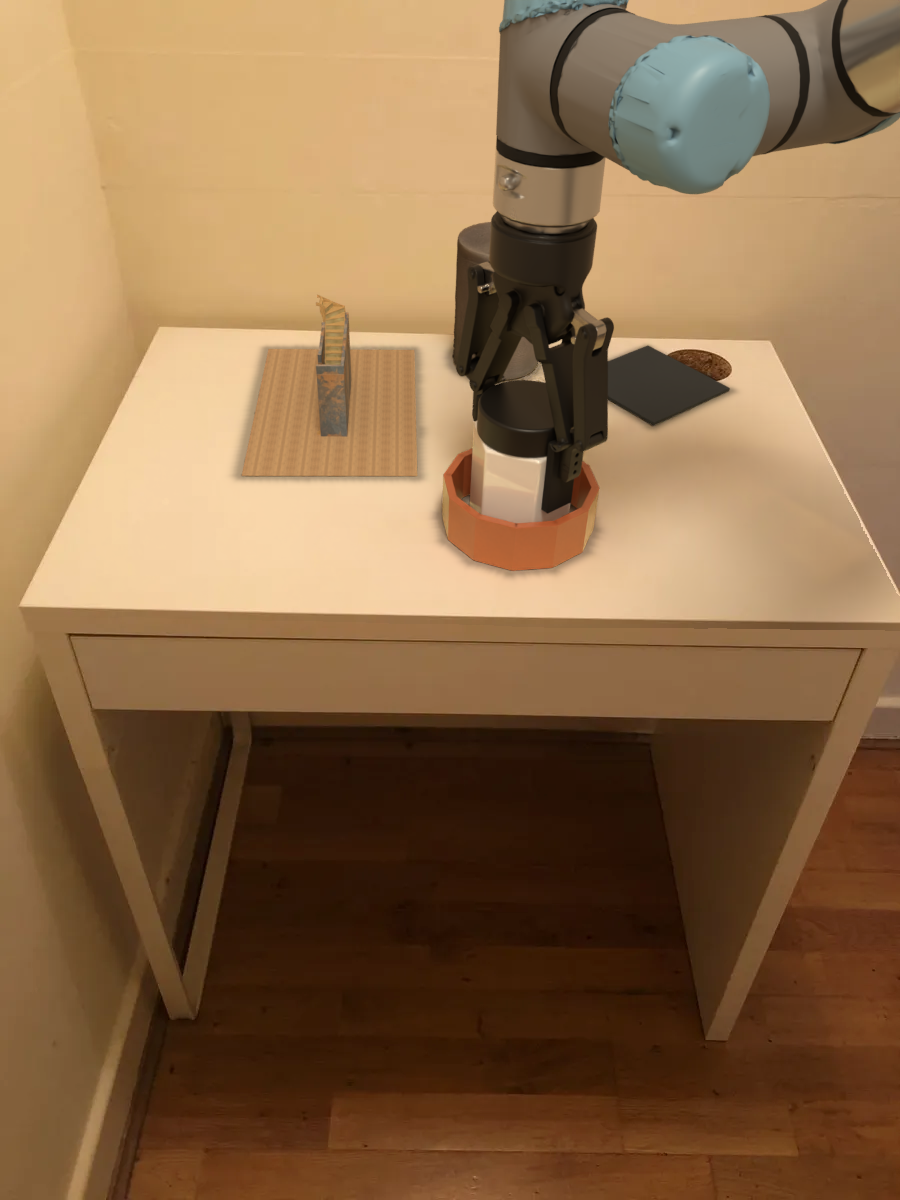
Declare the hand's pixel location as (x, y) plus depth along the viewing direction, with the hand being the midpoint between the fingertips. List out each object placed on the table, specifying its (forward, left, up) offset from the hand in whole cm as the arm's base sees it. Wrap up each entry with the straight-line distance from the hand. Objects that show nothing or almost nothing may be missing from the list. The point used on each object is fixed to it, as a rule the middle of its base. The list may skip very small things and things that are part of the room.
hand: (520, 480), depth 84 cm
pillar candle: (+24, -18, -5) cm, 30 cm away
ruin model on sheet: (+26, +2, -5) cm, 26 cm away
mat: (+10, -28, -4) cm, 30 cm away
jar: (0, 0, -5) cm, 5 cm away
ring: (0, 0, -4) cm, 4 cm away
